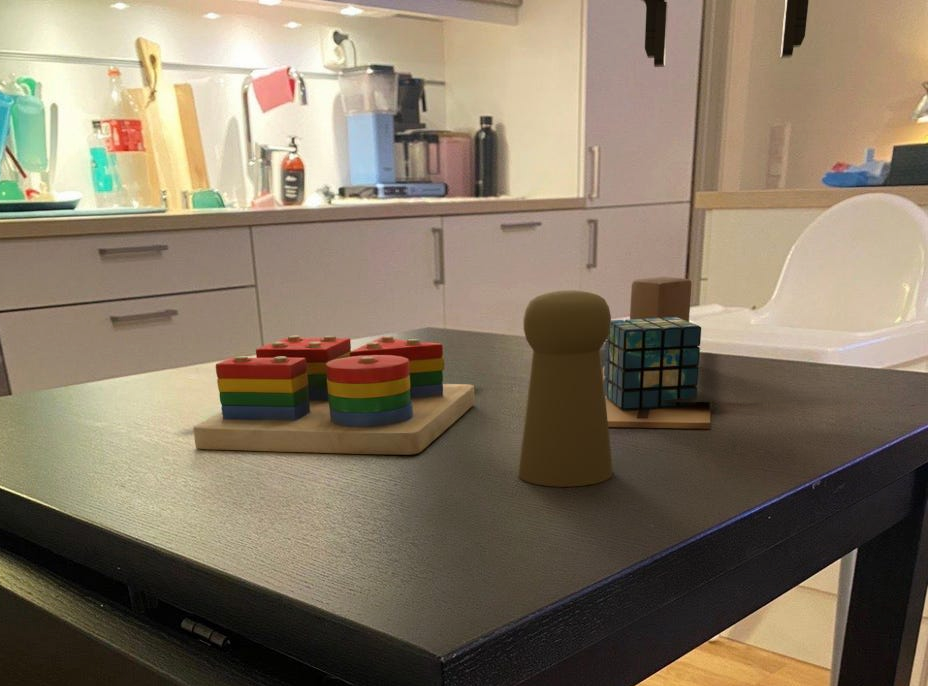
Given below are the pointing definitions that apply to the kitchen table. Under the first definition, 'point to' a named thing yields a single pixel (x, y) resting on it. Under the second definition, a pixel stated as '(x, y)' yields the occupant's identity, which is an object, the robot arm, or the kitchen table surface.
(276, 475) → the kitchen table surface
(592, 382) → the pepper shaker
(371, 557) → the kitchen table surface
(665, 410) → the tan wooden flat board
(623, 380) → the puzzle
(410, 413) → the shape sorter
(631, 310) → the wooden block
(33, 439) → the kitchen table surface
